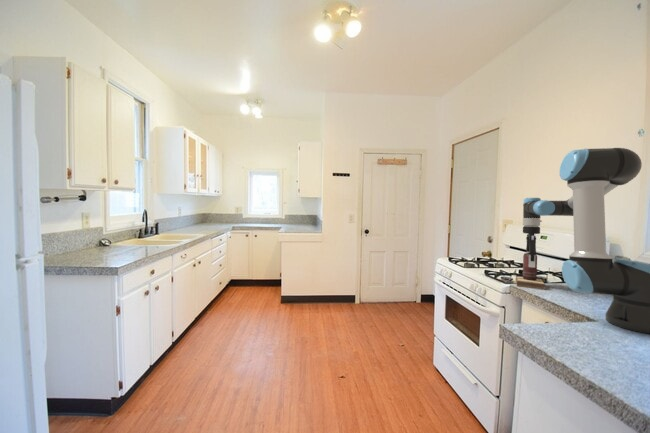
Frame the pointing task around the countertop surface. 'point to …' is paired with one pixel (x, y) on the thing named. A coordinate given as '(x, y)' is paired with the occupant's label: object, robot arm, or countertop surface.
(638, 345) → the countertop surface
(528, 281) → the stand
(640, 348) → the countertop surface
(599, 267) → the robot arm
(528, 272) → the can
